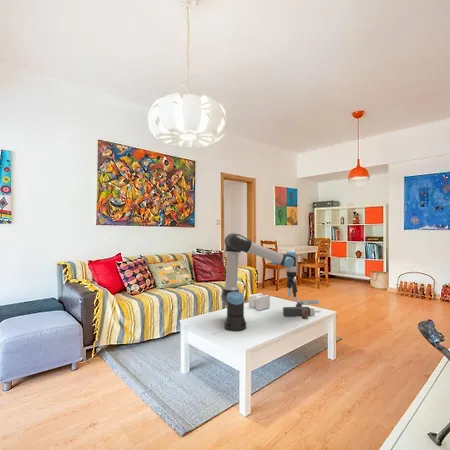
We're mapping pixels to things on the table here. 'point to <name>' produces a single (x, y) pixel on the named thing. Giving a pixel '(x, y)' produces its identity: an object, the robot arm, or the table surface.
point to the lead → (296, 311)
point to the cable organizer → (259, 301)
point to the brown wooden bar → (303, 312)
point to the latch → (307, 302)
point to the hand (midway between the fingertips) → (291, 298)
